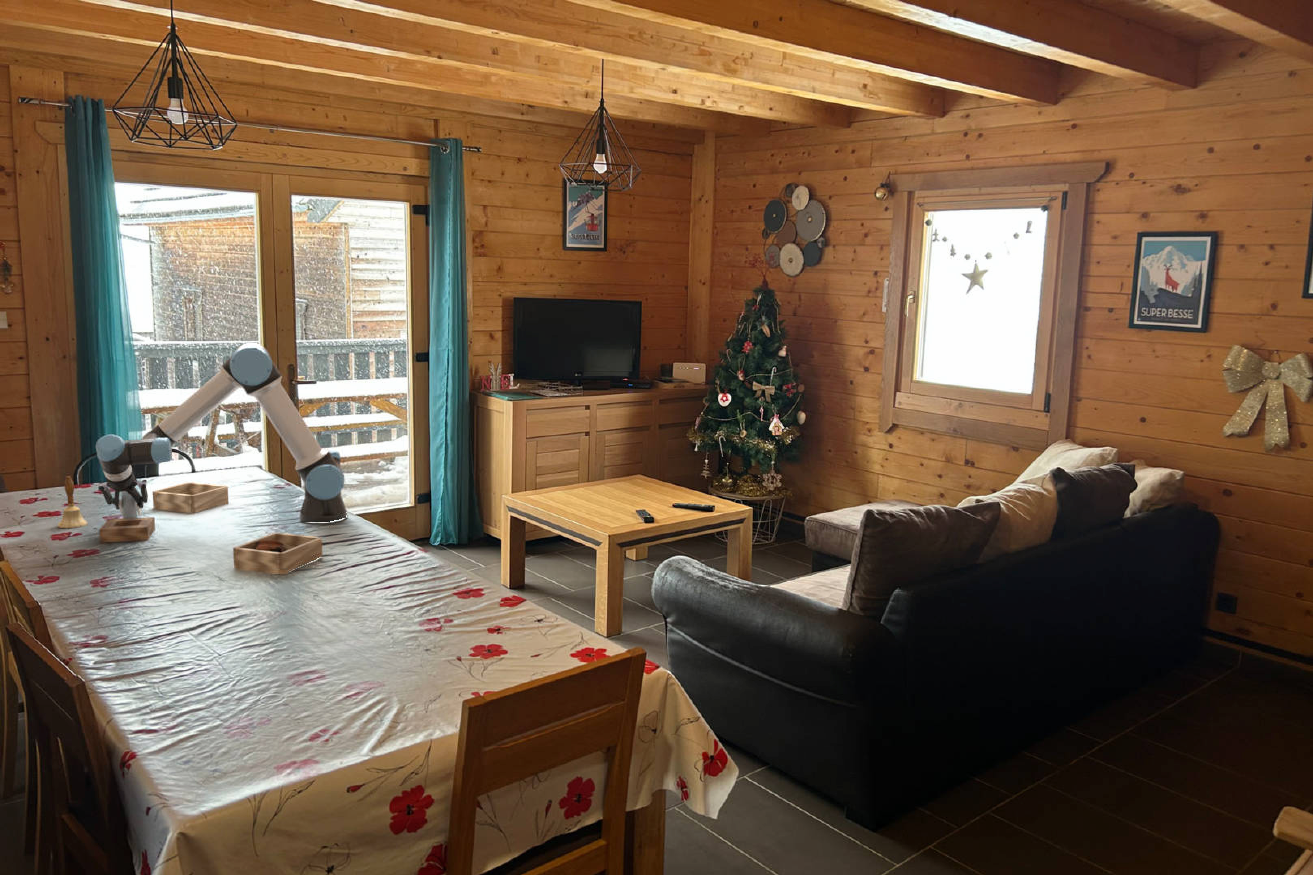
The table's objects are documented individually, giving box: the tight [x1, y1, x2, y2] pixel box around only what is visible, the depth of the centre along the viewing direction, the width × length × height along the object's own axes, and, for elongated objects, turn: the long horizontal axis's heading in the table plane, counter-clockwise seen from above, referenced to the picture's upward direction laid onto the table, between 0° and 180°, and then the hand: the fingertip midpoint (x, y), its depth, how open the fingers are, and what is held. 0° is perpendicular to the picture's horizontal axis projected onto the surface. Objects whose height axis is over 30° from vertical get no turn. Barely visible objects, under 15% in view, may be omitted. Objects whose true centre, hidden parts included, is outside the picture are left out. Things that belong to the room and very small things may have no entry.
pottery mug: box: [253, 540, 287, 553], centre depth 273 cm, size 12×10×8 cm
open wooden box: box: [232, 532, 323, 575], centre depth 275 cm, size 16×18×6 cm
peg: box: [120, 491, 138, 519], centre depth 309 cm, size 4×4×12 cm
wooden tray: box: [152, 482, 229, 514], centre depth 339 cm, size 17×17×6 cm
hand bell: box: [57, 475, 89, 529], centre depth 309 cm, size 8×8×16 cm
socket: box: [98, 516, 156, 543], centre depth 299 cm, size 13×13×4 cm
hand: (132, 512), depth 313 cm, fingers closed on peg, 4 cm apart
